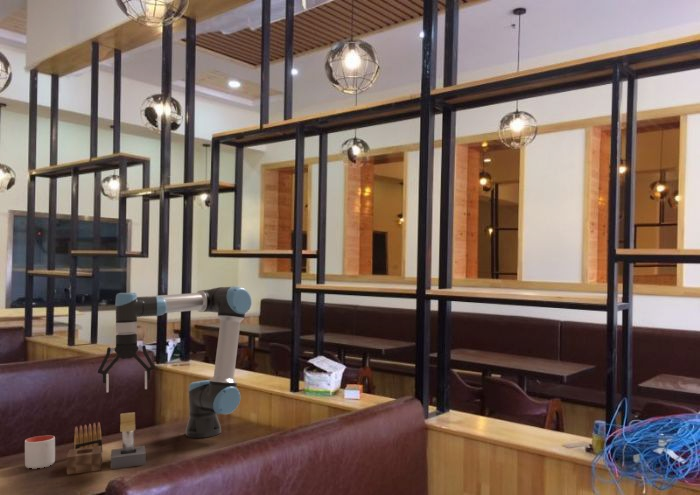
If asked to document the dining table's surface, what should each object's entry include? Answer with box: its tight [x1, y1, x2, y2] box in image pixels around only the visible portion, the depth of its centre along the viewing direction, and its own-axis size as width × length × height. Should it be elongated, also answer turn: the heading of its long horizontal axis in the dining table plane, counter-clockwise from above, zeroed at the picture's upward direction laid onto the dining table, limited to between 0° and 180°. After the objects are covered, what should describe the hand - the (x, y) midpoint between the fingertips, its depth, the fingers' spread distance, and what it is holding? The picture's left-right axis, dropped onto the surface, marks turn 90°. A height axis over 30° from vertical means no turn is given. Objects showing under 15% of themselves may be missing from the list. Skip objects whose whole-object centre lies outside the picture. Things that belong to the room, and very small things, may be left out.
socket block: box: [110, 445, 147, 470], centre depth 227 cm, size 12×12×14 cm
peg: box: [121, 431, 135, 454], centre depth 227 cm, size 4×4×14 cm
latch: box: [119, 411, 136, 433], centre depth 219 cm, size 5×10×4 cm, turn 20°
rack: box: [66, 445, 103, 475], centre depth 221 cm, size 11×11×6 cm
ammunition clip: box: [73, 421, 103, 449], centre depth 239 cm, size 11×2×12 cm, turn 135°
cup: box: [24, 434, 56, 470], centre depth 226 cm, size 10×10×10 cm
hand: (126, 390), depth 228 cm, fingers open, 13 cm apart
